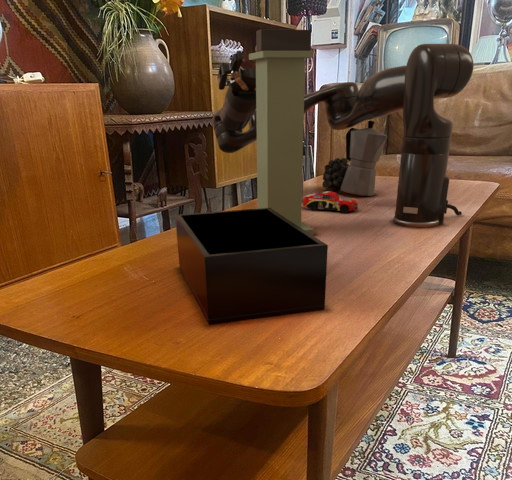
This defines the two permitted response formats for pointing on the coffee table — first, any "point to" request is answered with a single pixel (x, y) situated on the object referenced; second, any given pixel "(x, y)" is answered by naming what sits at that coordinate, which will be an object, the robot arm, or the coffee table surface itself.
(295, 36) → the dark brown box
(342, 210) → the race car
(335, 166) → the fruit
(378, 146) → the coffeepot
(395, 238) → the coffee table surface
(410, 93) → the robot arm
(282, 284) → the open black box
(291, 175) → the post
